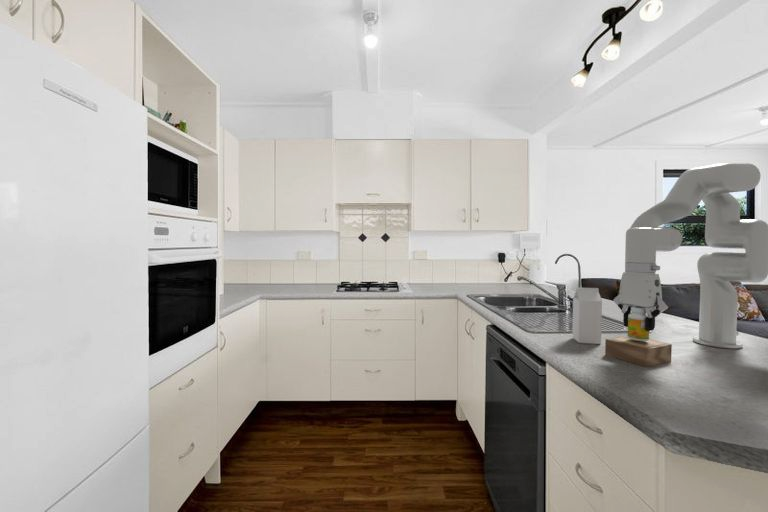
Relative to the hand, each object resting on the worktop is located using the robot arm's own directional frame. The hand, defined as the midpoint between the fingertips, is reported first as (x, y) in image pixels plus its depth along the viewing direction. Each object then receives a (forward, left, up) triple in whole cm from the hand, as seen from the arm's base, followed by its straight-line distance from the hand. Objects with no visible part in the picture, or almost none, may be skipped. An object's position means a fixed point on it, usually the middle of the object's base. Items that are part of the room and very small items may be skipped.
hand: (638, 327), depth 110 cm
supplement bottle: (0, 0, -4) cm, 4 cm away
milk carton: (-3, -19, -9) cm, 21 cm away
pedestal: (0, 0, -9) cm, 9 cm away
